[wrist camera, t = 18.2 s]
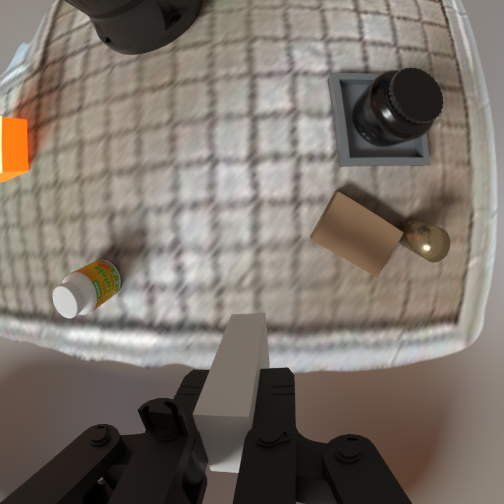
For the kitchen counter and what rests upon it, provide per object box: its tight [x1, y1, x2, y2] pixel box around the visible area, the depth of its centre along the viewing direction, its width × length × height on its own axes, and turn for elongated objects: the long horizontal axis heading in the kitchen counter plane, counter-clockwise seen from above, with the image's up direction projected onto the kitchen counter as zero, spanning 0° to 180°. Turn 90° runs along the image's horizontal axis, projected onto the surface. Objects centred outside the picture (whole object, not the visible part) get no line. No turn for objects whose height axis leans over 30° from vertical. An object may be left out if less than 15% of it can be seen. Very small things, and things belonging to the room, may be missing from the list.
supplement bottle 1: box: [53, 260, 121, 318], centre depth 34 cm, size 5×5×10 cm
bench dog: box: [399, 219, 450, 262], centre depth 30 cm, size 4×4×7 cm
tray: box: [328, 73, 430, 167], centre depth 29 cm, size 11×11×2 cm
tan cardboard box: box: [310, 191, 403, 277], centre depth 33 cm, size 6×9×2 cm, turn 62°
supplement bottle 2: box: [352, 68, 443, 147], centre depth 24 cm, size 7×7×12 cm
